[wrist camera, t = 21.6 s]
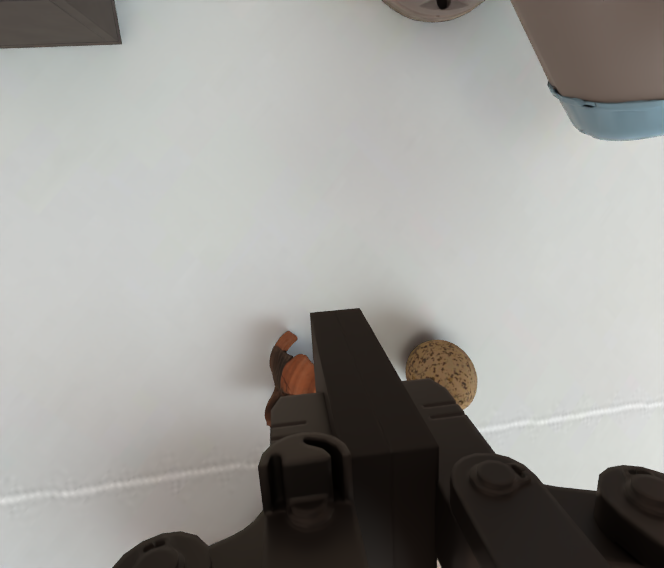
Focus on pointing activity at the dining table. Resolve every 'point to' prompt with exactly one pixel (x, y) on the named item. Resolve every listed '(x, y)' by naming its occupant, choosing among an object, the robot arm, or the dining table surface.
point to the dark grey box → (58, 23)
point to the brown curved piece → (289, 373)
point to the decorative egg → (444, 369)
